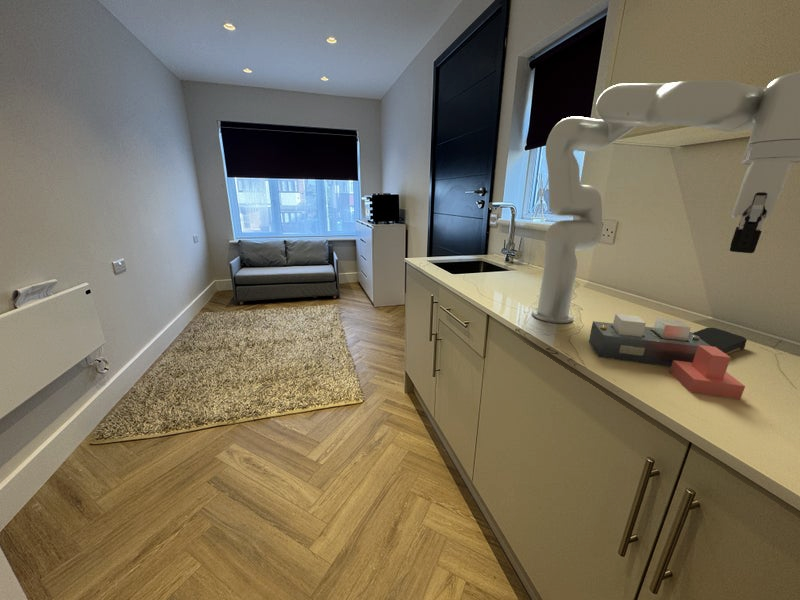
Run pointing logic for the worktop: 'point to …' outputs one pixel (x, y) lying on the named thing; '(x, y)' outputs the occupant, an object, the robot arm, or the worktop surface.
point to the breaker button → (628, 325)
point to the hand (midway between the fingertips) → (741, 249)
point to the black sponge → (722, 339)
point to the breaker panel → (647, 343)
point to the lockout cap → (708, 374)
